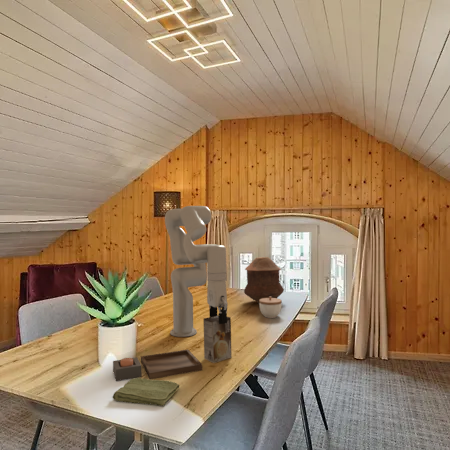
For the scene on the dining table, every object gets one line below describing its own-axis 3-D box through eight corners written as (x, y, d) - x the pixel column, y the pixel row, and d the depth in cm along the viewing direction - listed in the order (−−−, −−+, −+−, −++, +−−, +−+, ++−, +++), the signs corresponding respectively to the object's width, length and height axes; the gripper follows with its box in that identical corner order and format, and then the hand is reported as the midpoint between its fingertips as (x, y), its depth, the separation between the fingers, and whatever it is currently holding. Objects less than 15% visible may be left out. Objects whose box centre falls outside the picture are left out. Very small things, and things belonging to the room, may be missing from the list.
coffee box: (221, 353, 152) (221, 314, 152) (231, 357, 147) (231, 317, 147) (203, 358, 146) (203, 318, 146) (213, 363, 141) (213, 321, 141)
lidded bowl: (279, 320, 202) (279, 299, 202) (256, 318, 206) (256, 298, 206) (283, 314, 214) (283, 295, 214) (262, 312, 218) (261, 293, 218)
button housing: (113, 372, 135) (112, 360, 134) (137, 368, 138) (137, 357, 138) (115, 381, 127) (115, 369, 127) (141, 376, 130) (141, 365, 130)
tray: (140, 362, 144) (140, 356, 144) (188, 354, 151) (188, 349, 151) (149, 379, 128) (149, 373, 128) (202, 370, 135) (202, 364, 135)
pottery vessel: (283, 308, 227) (282, 259, 227) (241, 307, 232) (241, 259, 231) (284, 299, 253) (283, 255, 252) (246, 298, 257) (246, 255, 257)
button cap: (119, 367, 133) (119, 358, 133) (132, 365, 135) (132, 357, 135) (121, 371, 129) (121, 363, 129) (134, 369, 131) (134, 361, 131)
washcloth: (165, 409, 108) (165, 398, 108) (110, 403, 113) (110, 392, 113) (181, 389, 121) (180, 379, 121) (131, 384, 125) (131, 374, 125)
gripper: (200, 275, 153) (201, 317, 153) (216, 280, 137) (217, 327, 137) (217, 273, 156) (218, 315, 155) (234, 278, 140) (235, 324, 140)
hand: (218, 320), depth 146 cm, fingers open, 9 cm apart
